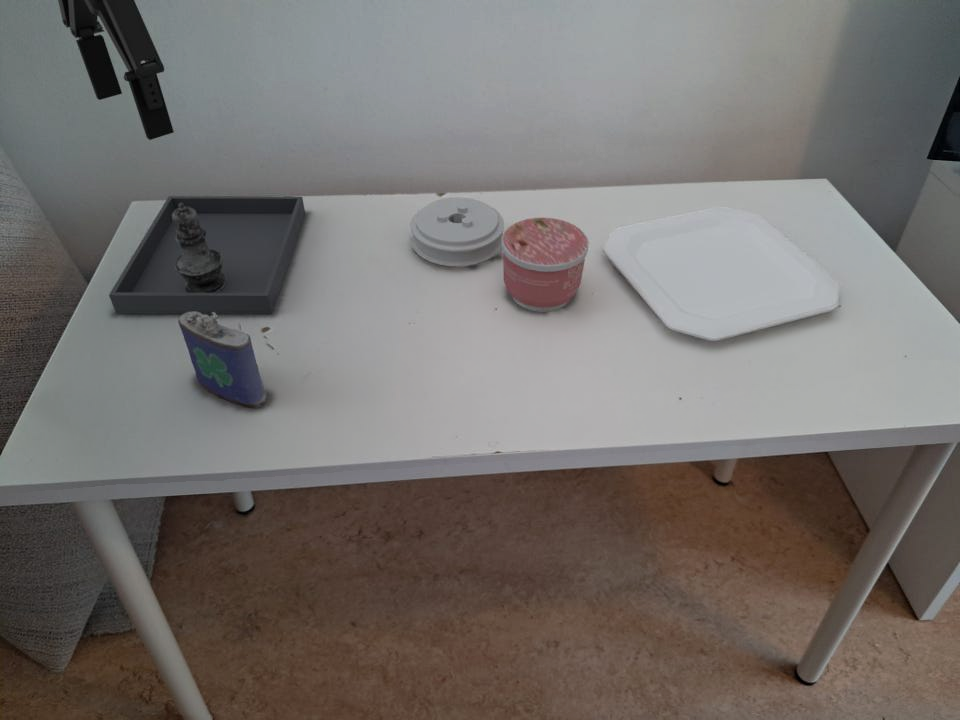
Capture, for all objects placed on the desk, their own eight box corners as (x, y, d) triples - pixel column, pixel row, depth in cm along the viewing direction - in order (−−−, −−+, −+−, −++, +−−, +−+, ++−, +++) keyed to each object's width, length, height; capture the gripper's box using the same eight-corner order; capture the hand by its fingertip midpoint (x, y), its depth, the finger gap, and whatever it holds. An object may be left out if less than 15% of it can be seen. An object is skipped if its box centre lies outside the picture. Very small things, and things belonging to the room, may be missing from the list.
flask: (272, 397, 79) (251, 321, 72) (253, 414, 77) (230, 338, 70) (209, 368, 83) (183, 293, 75) (190, 384, 81) (161, 309, 73)
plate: (856, 313, 90) (863, 299, 89) (683, 359, 84) (686, 345, 82) (739, 213, 107) (743, 200, 106) (587, 245, 101) (589, 231, 100)
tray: (272, 314, 90) (267, 295, 88) (116, 313, 90) (108, 295, 88) (305, 213, 107) (302, 196, 105) (174, 213, 107) (168, 195, 105)
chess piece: (173, 295, 92) (144, 212, 84) (194, 268, 96) (168, 187, 88) (217, 300, 91) (192, 217, 83) (236, 273, 95) (214, 191, 87)
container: (561, 262, 98) (565, 210, 93) (596, 308, 91) (604, 255, 85) (488, 278, 95) (488, 226, 90) (518, 327, 88) (521, 273, 83)
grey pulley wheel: (393, 242, 101) (390, 211, 98) (463, 211, 107) (463, 180, 104) (451, 284, 94) (450, 251, 91) (522, 248, 100) (523, 216, 97)
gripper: (158, -91, 62) (218, 142, 77) (53, -132, 76) (121, 73, 90) (68, -77, 58) (149, 165, 73) (-25, -123, 72) (59, 89, 86)
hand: (134, 115), depth 81 cm, fingers open, 13 cm apart
